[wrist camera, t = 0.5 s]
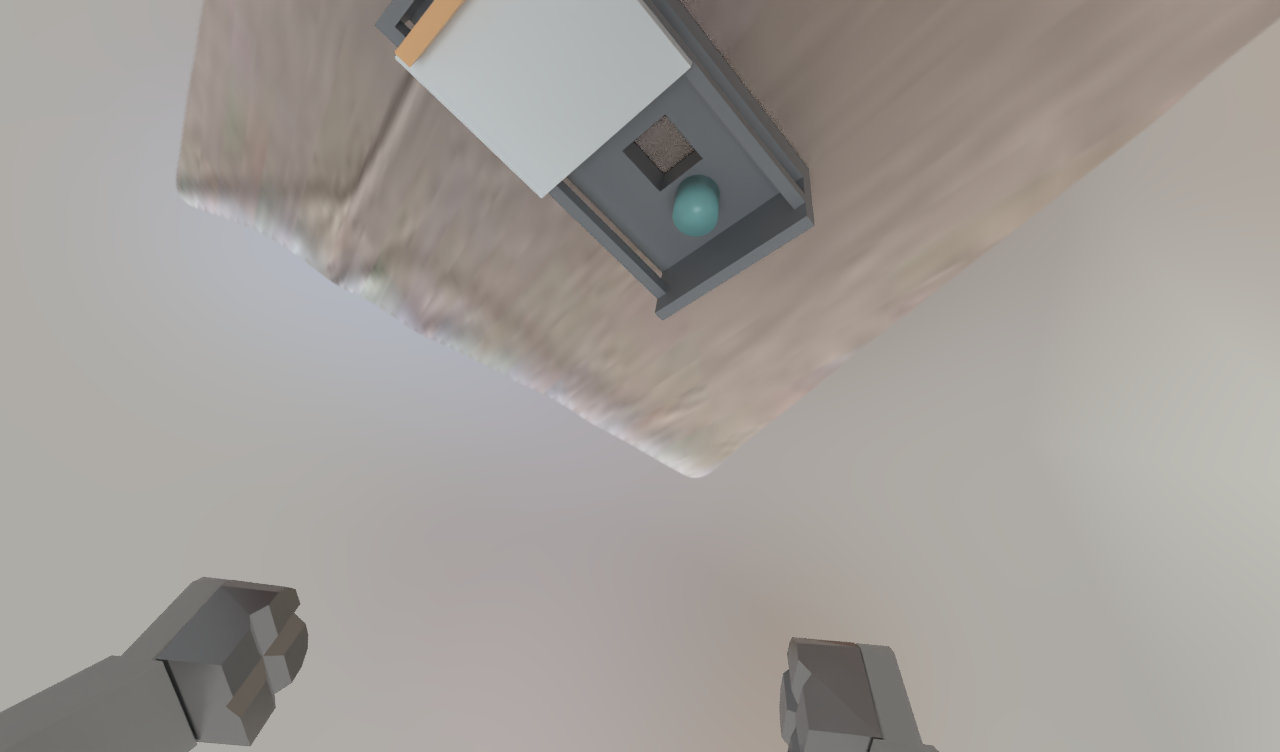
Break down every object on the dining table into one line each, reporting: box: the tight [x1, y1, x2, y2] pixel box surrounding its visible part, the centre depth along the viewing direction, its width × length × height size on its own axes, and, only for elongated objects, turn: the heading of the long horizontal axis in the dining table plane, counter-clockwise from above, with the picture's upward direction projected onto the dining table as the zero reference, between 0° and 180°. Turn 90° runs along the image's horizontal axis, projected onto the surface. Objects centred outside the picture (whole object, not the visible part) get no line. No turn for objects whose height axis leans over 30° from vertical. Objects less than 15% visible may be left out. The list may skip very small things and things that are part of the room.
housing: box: [375, 0, 814, 320], centre depth 49 cm, size 15×30×9 cm, turn 43°
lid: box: [394, 0, 692, 199], centre depth 43 cm, size 15×14×3 cm
